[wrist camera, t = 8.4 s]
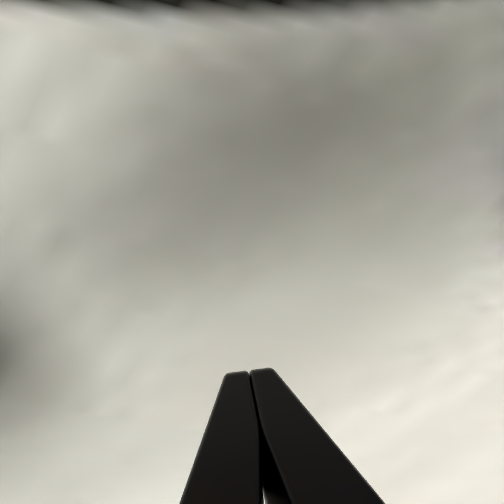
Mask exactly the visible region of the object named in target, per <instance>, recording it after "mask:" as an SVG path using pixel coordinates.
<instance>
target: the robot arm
mask: <svg viewBox="0 0 504 504" xmlns="http://www.w3.org/2000/svg"><path fill="white" fill-rule="evenodd" d="M263 493H264V499H265V504H385V503H384V502H383V500H382V499H381V498H380V497H379V496H378V494H377V493H376V492H375V491H374V490H373V488H372V487H371V486H370V485H369V483H368V482H367V481H366V480H365V479H364V477H363V476H362V475H361V474H360V473H359V471H358V470H357V469H356V468H355V467H354V465H353V464H352V463H351V462H350V461H349V459H348V458H347V457H346V456H345V455H344V453H343V452H342V451H341V450H340V449H339V447H338V446H337V445H336V444H335V443H334V441H333V440H332V439H331V438H330V437H329V435H328V434H327V433H326V432H325V430H324V429H323V428H322V427H321V426H320V424H319V423H318V422H317V421H316V420H315V418H314V417H313V416H312V415H311V414H310V412H309V411H308V410H307V409H306V408H305V406H304V405H303V404H302V403H301V402H300V400H299V399H298V398H297V397H296V396H295V394H294V393H293V392H292V391H291V390H290V388H289V387H288V386H287V385H286V384H285V382H284V381H283V380H282V379H281V378H280V376H279V375H278V374H277V373H276V372H275V370H273V369H272V368H263V369H256V370H252V371H250V373H248V372H247V371H240V372H233V373H227V374H226V375H225V376H224V378H223V381H222V384H221V387H220V390H219V392H218V395H217V398H216V401H215V404H214V407H213V410H212V412H211V415H210V418H209V421H208V424H207V427H206V429H205V432H204V435H203V438H202V441H201V444H200V447H199V449H198V452H197V455H196V458H195V461H194V464H193V467H192V469H191V472H190V475H189V478H188V481H187V484H186V486H185V489H184V492H183V495H182V498H181V501H180V504H264V499H263Z"/></svg>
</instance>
